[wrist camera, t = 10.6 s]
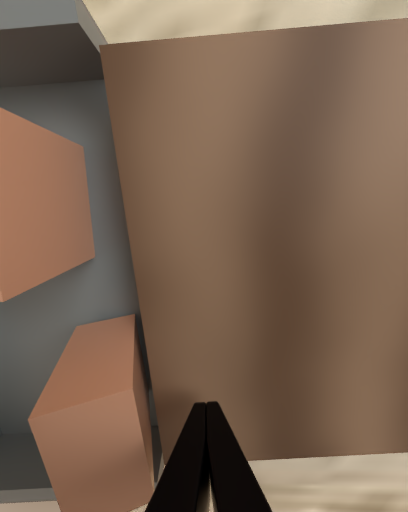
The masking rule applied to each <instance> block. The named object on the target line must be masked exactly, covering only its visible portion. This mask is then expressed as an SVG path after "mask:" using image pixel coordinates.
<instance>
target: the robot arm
mask: <svg viewBox="0 0 408 512" xmlns="http://www.w3.org/2000/svg"><path fill="white" fill-rule="evenodd" d="M210 483H211V493H212V501H213V509H214V512H272V510H271V508H270V506H269V504H268V502H267V500H266V498H265V496H264V494H263V492H262V490H261V488H260V486H259V484H258V482H257V480H256V478H255V476H254V474H253V471H252V469H251V467H250V465H249V463H248V461H247V459H246V457H245V455H244V453H243V451H242V449H241V447H240V445H239V443H238V441H237V439H236V437H235V435H234V433H233V431H232V429H231V427H230V425H229V423H228V421H227V419H226V417H225V415H224V413H223V411H222V409H221V406H220V404H219V403H218V401H208V402H207V403H205V402H195V403H194V404H193V406H192V409H191V411H190V413H189V415H188V417H187V420H186V422H185V424H184V426H183V428H182V431H181V433H180V435H179V437H178V439H177V442H176V444H175V446H174V448H173V450H172V453H171V455H170V457H169V459H168V461H167V464H166V466H165V468H164V470H163V472H162V475H161V477H160V479H159V481H158V483H157V486H156V488H155V490H154V492H153V494H152V497H151V499H150V501H149V503H148V506H147V508H146V510H145V512H209V501H210Z"/></svg>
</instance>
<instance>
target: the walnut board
mask: <svg viewBox="0 0 408 512" xmlns="http://www.w3.org/2000/svg"><path fill="white" fill-rule="evenodd" d="M99 49H100V55H101V62H102V68H103V75H104V81H105V87H106V94H107V100H108V107H109V113H110V119H111V126H112V132H113V139H114V145H115V151H116V158H117V164H118V171H119V177H120V184H121V190H122V196H123V203H124V209H125V216H126V222H127V228H128V235H129V241H130V248H131V254H132V260H133V267H134V273H135V280H136V286H137V293H138V299H139V305H140V312H141V318H142V325H143V331H144V337H145V344H146V350H147V357H148V363H149V369H150V376H151V382H152V389H153V395H154V402H155V408H156V414H157V421H158V427H159V434H160V440H161V446H162V453H163V459H164V465H166V464H167V461H168V459H169V457H170V455H171V453H172V450H173V448H174V446H175V444H176V442H177V439H178V437H179V435H180V433H181V431H182V428H183V426H184V424H185V422H186V420H187V417H188V415H189V413H190V411H191V409H192V406H193V404H194V403H195V402H205V403H207V402H208V401H218V403H219V404H220V406H221V409H222V411H223V413H224V415H225V417H226V419H227V421H228V423H229V425H230V427H231V429H232V431H233V433H234V435H235V437H236V439H237V441H238V443H239V445H240V447H241V449H242V451H243V453H244V455H245V457H246V459H247V461H253V460H272V459H290V458H309V457H328V456H347V455H366V454H385V453H403V452H408V18H403V19H391V20H380V21H368V22H357V23H346V24H334V25H323V26H311V27H300V28H288V29H277V30H266V31H254V32H243V33H231V34H220V35H209V36H197V37H186V38H174V39H163V40H151V41H140V42H129V43H117V44H106V45H99Z"/></svg>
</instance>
